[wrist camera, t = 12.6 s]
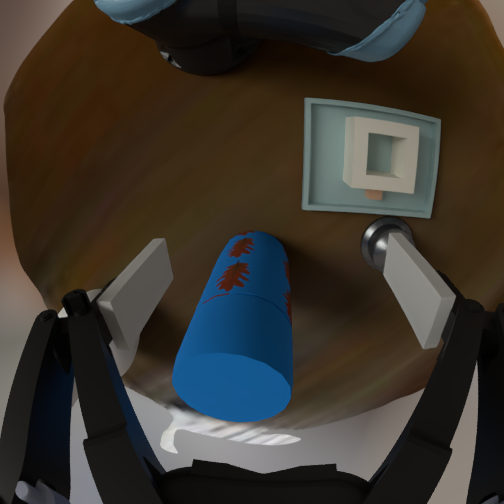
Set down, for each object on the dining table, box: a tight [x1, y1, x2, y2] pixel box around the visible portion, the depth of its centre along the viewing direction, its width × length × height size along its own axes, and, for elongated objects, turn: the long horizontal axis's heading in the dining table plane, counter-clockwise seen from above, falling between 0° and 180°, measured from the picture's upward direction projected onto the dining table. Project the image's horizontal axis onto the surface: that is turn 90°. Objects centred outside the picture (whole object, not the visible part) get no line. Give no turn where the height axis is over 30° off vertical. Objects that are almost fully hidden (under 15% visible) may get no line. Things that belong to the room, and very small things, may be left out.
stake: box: [361, 216, 415, 273], centre depth 34 cm, size 9×9×15 cm
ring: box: [343, 116, 419, 200], centre depth 33 cm, size 11×9×5 cm
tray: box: [302, 98, 441, 218], centre depth 35 cm, size 15×20×2 cm
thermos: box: [172, 231, 293, 422], centre depth 33 cm, size 11×11×25 cm
